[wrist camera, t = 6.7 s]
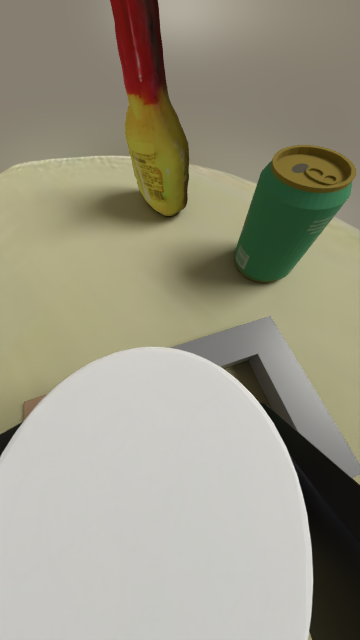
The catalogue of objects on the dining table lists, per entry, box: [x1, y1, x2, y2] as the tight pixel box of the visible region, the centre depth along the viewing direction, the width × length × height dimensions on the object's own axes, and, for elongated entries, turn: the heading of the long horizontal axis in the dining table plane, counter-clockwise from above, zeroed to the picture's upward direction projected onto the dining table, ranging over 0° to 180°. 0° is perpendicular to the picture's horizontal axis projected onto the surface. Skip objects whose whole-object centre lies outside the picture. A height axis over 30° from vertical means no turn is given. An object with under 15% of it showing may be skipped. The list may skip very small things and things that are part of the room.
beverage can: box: [235, 145, 356, 283], centre depth 21 cm, size 8×8×12 cm
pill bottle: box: [0, 347, 313, 640], centre depth 7 cm, size 6×6×11 cm
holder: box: [172, 316, 360, 478], centre depth 17 cm, size 14×14×3 cm
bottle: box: [110, 0, 189, 216], centre depth 24 cm, size 12×6×20 cm, turn 36°
